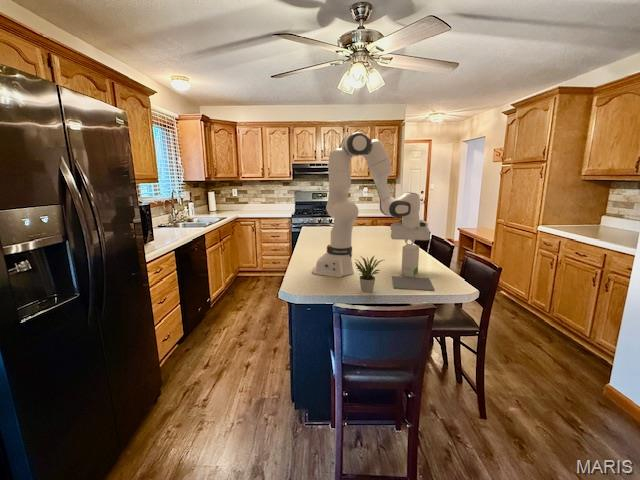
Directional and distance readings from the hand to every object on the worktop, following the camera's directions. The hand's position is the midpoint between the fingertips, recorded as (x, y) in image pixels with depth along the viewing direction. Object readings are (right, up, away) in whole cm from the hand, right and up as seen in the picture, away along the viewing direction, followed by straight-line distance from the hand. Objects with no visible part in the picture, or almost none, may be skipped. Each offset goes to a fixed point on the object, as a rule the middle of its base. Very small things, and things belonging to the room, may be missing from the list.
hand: (409, 247), depth 165 cm
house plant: (-27, -19, -28) cm, 43 cm away
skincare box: (-2, -14, -8) cm, 17 cm away
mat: (-5, -17, -20) cm, 27 cm away
